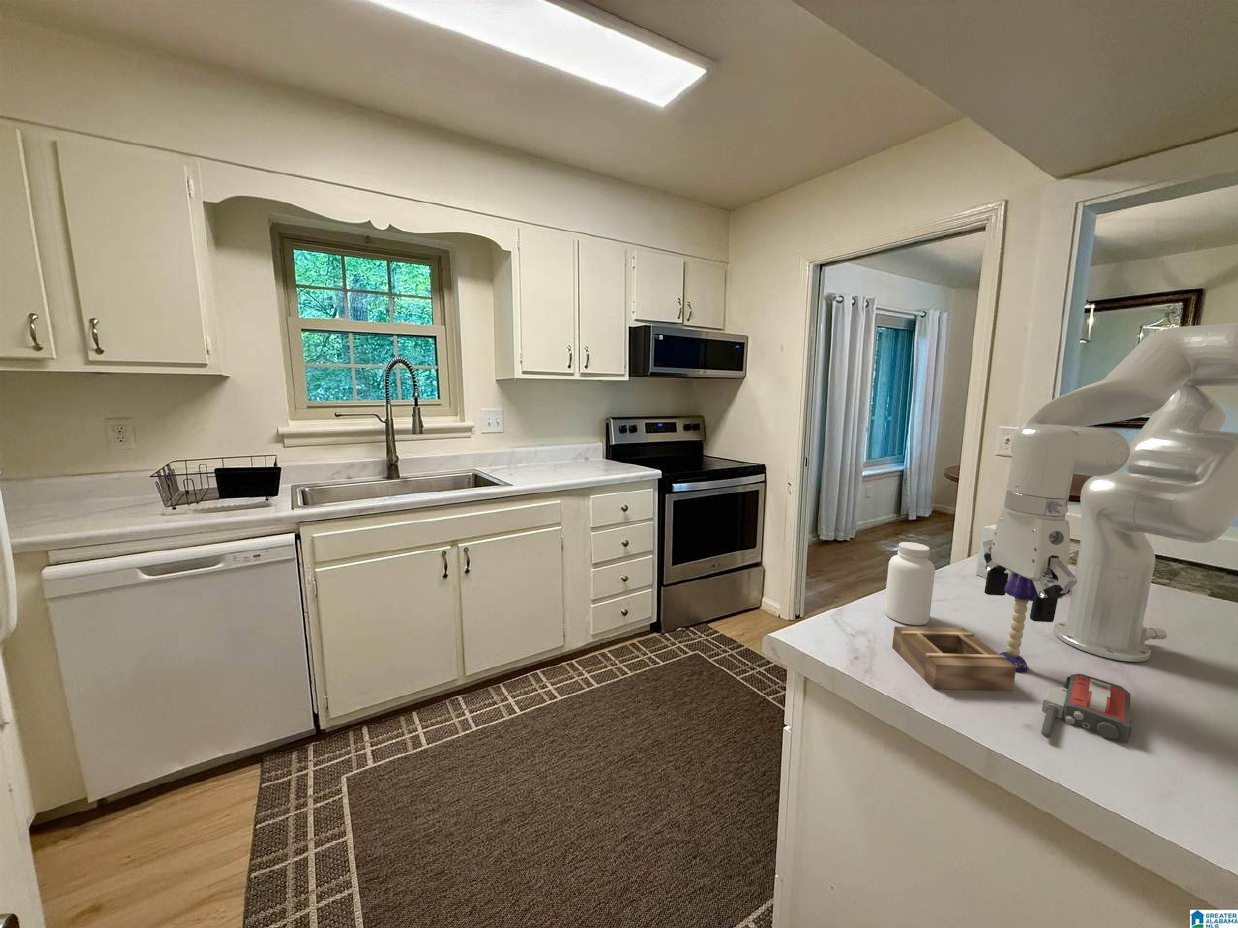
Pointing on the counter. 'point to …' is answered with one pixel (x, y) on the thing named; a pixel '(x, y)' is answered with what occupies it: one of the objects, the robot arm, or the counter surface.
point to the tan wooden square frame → (953, 659)
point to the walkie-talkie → (1089, 707)
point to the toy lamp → (1018, 617)
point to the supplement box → (981, 564)
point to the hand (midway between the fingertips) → (1016, 606)
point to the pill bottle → (910, 585)
